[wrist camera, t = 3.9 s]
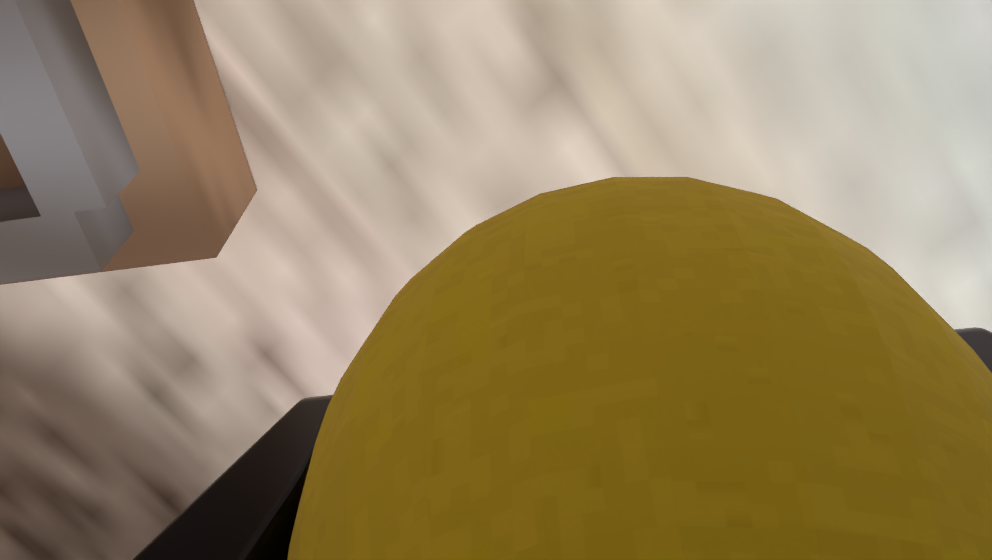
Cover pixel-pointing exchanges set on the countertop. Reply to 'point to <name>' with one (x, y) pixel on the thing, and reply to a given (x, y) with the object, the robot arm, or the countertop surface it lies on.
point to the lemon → (654, 396)
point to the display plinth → (112, 139)
